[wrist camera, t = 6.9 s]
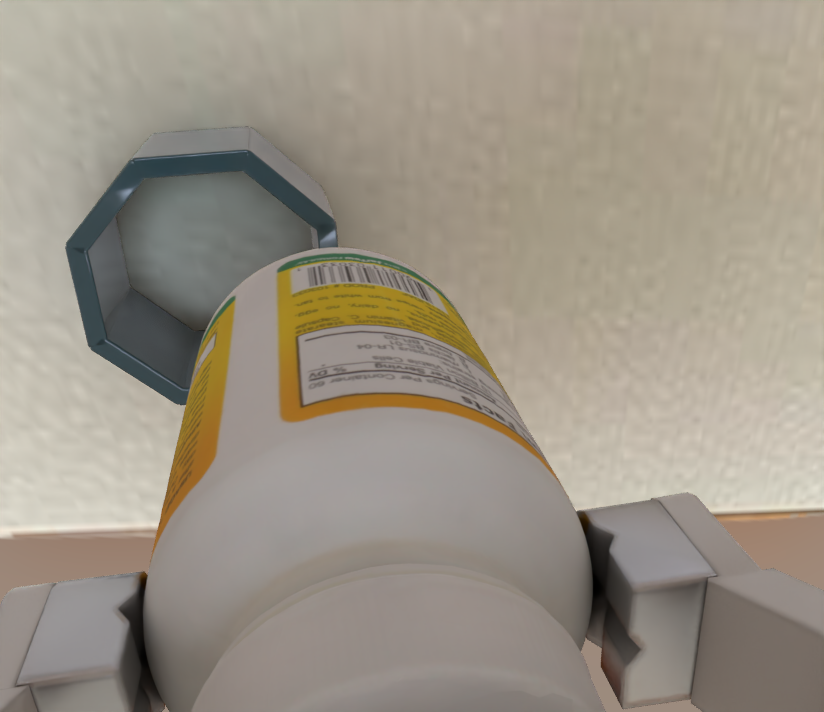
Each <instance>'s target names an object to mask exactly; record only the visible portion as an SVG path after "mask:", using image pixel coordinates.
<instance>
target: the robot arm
mask: <svg viewBox="0 0 824 712" xmlns="http://www.w3.org/2000/svg"><path fill="white" fill-rule="evenodd" d="M576 513H577V516H578V518H579V520H580V523H581V526H582V529H583V532H584V535H585V537H586V541H587V545H588V549H589V553H590V559H591V565H592V577H593V597H592V609H591V616H590V621H589V625H588V630H587V634H586V638H587V639H588V640H589V641H591V642H592V643H594V644H596V645H597V646H599V647H601V648H602V654H601V668H602V670H603V672H604V674H605V676H606V678H607V679H608V681H609V683H610V685H611V687H612V689H613V691H614V693H615V695H616V697H617V699H618V701H619V703H620V705H621V707H622V709H628V708H635V707H642V706H648V705H655V704H662V703H668V702H675V701H682V700H688V699H691V703H692V704H693V705H694V706H696V707H697V708H698V709H700V710H701V711H702V712H824V590H822V589H819V588H817V587H815V586H813V585H810V584H808V583H806V582H803V581H801V580H799V579H796V578H794V577H792V576H790V575H787V574H785V573H783V572H781V571H778V570H776V569H774V568H773V569H766V570H761V568H760V567H759V566H758V565H757V564H756V563H755V562H754V561H753V559H752V558H751V557H750V556H749V555H748V554H747V553H746V552H745V550H744V549H743V548H742V547H741V546H740V545H739V544H738V543H737V542H736V540H735V539H734V538H733V537H732V536H731V535H730V534H729V532H728V531H727V530H726V529H725V528H724V527H723V526H722V525H721V523H720V522H719V521H718V520H717V519H716V518H715V517H714V516H713V514H712V513H711V512H710V511H709V510H708V509H707V508H706V507H705V505H704V504H703V503H702V502H701V501H700V500H699V499H698V498H697V497H696V496H695V495H693V494H691V493H688V492H687V493H681V494H675V495H669V496H663V497H657V498H652V499H651V500H647V501H640V502H633V503H626V504H620V505H613V506H606V507H599V508H592V509H585V510H579V511H577V512H576ZM147 577H148V575H147V574H146V573H145V572H135V573H126V574H118V575H110V576H101V577H94V578H85V579H77V580H69V581H60V582H58V583H47V584H39V585H32V586H24V587H17V588H13V589H12V590H11V591H9V592H8V593H7V594H6V595H5V596H4V598H3V600H2V602H1V604H0V712H162V711H163V710H164V709H165V703H164V702H163V700H162V698H161V696H160V694H159V692H158V690H157V687H156V685H155V683H154V680H153V677H152V674H151V671H150V668H149V664H148V660H147V655H146V649H145V642H144V629H143V604H144V595H145V589H146V583H147Z"/></svg>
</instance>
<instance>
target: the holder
mask: <svg viewBox="0 0 824 712" xmlns="http://www.w3.org/2000/svg"><path fill="white" fill-rule="evenodd" d="M236 171H244V172H245V173H246V174H247V175H249V176H250V177H251V178H252V179H254V180H255V181H256V182H257V183H259V184H260V185H261V186H262V187H263V188H265V189H266V190H267V191H268V192H270V193H271V194H272V195H273V196H275V197H276V198H277V199H278V200H280V201H281V202H282V203H283V204H285V205H286V206H287V207H288V208H290V209H291V210H292V211H293V212H294V213H296V214H297V215H298V216H299V217H301V218H302V219H303V220H304V221H306V222H307V223H308V224H309V225H310V228H311V238H312V248H313V249H320V248H329V247H338V239H337V227H336V221H335V219H334V216H333V213H332V211H331V208H330V205H329V203H328V200H327V197H326V195H325V192H324V189H323V188H322V186H321V185H320V184H319V183H317V182H316V181H315V180H314V179H313V178H311V177H310V176H309V175H308V174H307V173H306V172H304V171H303V170H302V169H301V168H300V167H298V166H297V165H296V164H295V163H294V162H292V161H291V160H290V159H289V158H288V157H286V156H285V155H284V154H283V153H282V152H280V151H279V150H278V149H277V148H276V147H274V146H273V145H272V144H271V143H270V142H268V141H267V140H266V139H265V138H264V137H263V136H261V135H260V134H259V133H258V132H257V131H255V130H254V129H253V128H252V127H248V126H245V127H231V128H218V129H204V130H190V131H176V132H162V133H154V134H153V135H150V137H149V138H148V139H147V140H146V141H145V143H144V144H143V145H142V146H141V147H140V149H139V150H138V151H137V152H136V153H135V155H134V156H133V157H132V158H131V159H130V160H129V162H128V163H127V164H126V166H125V167H124V168H123V170H122V171H121V172H120V173H119V175H118V176H117V177H116V179H115V180H114V181H113V183H112V184H111V185H110V186H109V188H108V189H107V190H106V192H105V193H104V194H103V196H102V197H101V198H100V199H99V201H98V202H97V203H96V205H95V206H94V207H93V209H92V210H91V211H90V212H89V214H88V215H87V216H86V218H85V219H84V220H83V222H82V223H81V224H80V225H79V227H78V228H77V229H76V231H75V232H74V233H73V235H72V236H71V237H70V238H69V240H68V241H67V242H66V247H65V249H66V254H67V258H68V262H69V266H70V271H71V275H72V279H73V283H74V288H75V292H76V296H77V300H78V304H79V309H80V313H81V317H82V321H83V326H84V330H85V334H86V338H87V343H88V346H89V347H91V348H90V349H91V350H92V351H94V352H95V353H97V354H99V355H100V356H102V357H103V358H105V359H106V360H108V361H110V362H111V363H113V364H114V365H116V366H117V367H119V368H121V369H122V370H124V371H125V372H127V373H128V374H130V375H132V376H133V377H135V378H136V379H138V380H139V381H141V382H143V383H144V384H146V385H147V386H149V387H150V388H152V389H154V390H155V391H157V392H158V393H160V394H161V395H163V396H165V397H166V398H168V399H169V400H171V401H172V402H174V403H176V404H180V405H186V403H187V398H188V394H189V389H190V385H191V381H192V375H193V371H194V366H195V362H196V359H197V355H198V351H199V348H200V345H201V341H202V338H203V335H204V333H205V331H206V330H202V331H193V330H192V329H190V328H189V327H187V326H186V325H184V324H183V323H182V322H180V321H179V320H177V319H176V318H174V317H173V316H171V315H170V314H168V313H167V312H166V311H164V310H163V309H161V308H160V307H158V306H157V305H155V304H154V303H152V302H151V301H150V300H148V299H147V298H145V297H144V296H142V295H141V294H139V293H138V292H136V291H135V290H134V289H132V288H131V287H130V282H129V277H128V272H127V267H126V262H125V257H124V253H123V248H122V243H121V238H120V233H119V228H118V223H117V218H116V215H117V214H118V212H119V211H120V210H121V209H122V207H123V206H124V205H125V203H126V202H127V201H128V200H129V198H130V197H131V196H132V194H133V193H134V192H135V191H136V189H137V188H138V187H139V185H140V184H141V183H142V182H143V180H144V179H148V178H161V177H173V176H186V175H198V174H211V173H223V172H236Z"/></svg>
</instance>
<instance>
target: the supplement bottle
mask: <svg viewBox="0 0 824 712" xmlns="http://www.w3.org/2000/svg"><path fill="white" fill-rule="evenodd" d="M592 597H593V577H592V565H591V559H590V553H589V549H588V545H587V541H586V537H585V535H584V532H583V529H582V526H581V523H580V520H579V518H578V516H577V513H576V511H575V509H574V507H573V505H572V503H571V501H570V499H569V497H568V495H567V494H566V492H565V490H564V488H563V487H562V485H561V483H560V481H559V479H558V478H557V476H556V475H555V473H554V472H553V470H552V468H551V467H550V465H549V463H548V462H547V460H546V458H545V457H544V455H543V453H542V452H541V450H540V448H539V447H538V445H537V443H536V442H535V440H534V438H533V437H532V435H531V434H530V432H529V430H528V429H527V427H526V425H525V424H524V422H523V421H522V419H521V417H520V416H519V414H518V412H517V410H516V408H515V407H514V405H513V403H512V402H511V400H510V398H509V396H508V395H507V393H506V391H505V390H504V388H503V386H502V385H501V383H500V381H499V380H498V378H497V376H496V375H495V373H494V371H493V369H492V368H491V366H490V364H489V363H488V361H487V359H486V357H485V356H484V354H483V353H482V351H481V350H480V348H479V346H478V344H477V343H476V341H475V340H474V338H473V337H472V335H471V333H470V331H469V329H468V328H467V326H466V324H465V323H464V321H463V319H462V318H461V316H460V315H459V313H458V311H457V310H456V308H455V307H454V305H453V304H452V302H451V301H450V300H449V299H448V297H447V296H446V295H445V294H444V293H443V292H442V291H441V290H440V289H439V288H438V287H437V286H436V285H435V284H434V283H433V282H432V281H431V280H430V279H428V278H427V277H426V276H424V275H423V274H421V273H420V272H419V271H417V270H416V269H414V268H412V267H411V266H409V265H407V264H405V263H403V262H401V261H399V260H396V259H394V258H391V257H389V256H386V255H383V254H380V253H376V252H372V251H368V250H361V249H355V248H341V247H329V248H320V249H312V250H308V251H304V252H300V253H296V254H293V255H290V256H287V257H285V258H282V259H280V260H277V261H275V262H273V263H271V264H269V265H267V266H265V267H263V268H262V269H260V270H258V271H256V272H255V273H254V274H252V275H251V276H249V277H248V278H247V279H245V280H244V281H243V282H242V283H241V284H240V285H239V286H237V287H236V288H235V289H234V290H233V291H232V292H231V293H230V294H229V295H228V296H227V297H226V299H225V300H224V301H223V302H222V304H221V305H220V306H219V308H218V309H217V311H216V312H215V313H214V315H213V317H212V319H211V321H210V323H209V325H208V327H207V329H206V331H205V333H204V335H203V338H202V341H201V345H200V348H199V351H198V355H197V359H196V362H195V366H194V371H193V375H192V381H191V385H190V389H189V394H188V398H187V403H186V408H185V412H184V417H183V421H182V426H181V430H180V434H179V438H178V442H177V446H176V451H175V455H174V460H173V465H172V468H171V473H170V478H169V482H168V487H167V492H166V496H165V500H164V504H163V508H162V513H161V519H160V523H159V526H158V530H157V535H156V539H155V543H154V548H153V552H152V556H151V560H150V566H149V572H148V577H147V583H146V589H145V595H144V604H143V629H144V642H145V649H146V655H147V660H148V664H149V668H150V671H151V674H152V677H153V680H154V683H155V685H156V687H157V690H158V692H159V694H160V696H161V698H162V700H163V702H164V703H165V705H166V707H167V708H168V710H169V712H606V711H605V709H604V706H603V704H602V702H601V700H600V697H599V695H598V693H597V691H596V689H595V686H594V684H593V682H592V680H591V676H590V673H589V670H588V667H587V664H586V662H585V659H584V657H583V655H582V653H581V650H582V647H583V644H584V641H585V637H586V634H587V630H588V625H589V621H590V616H591V609H592Z"/></svg>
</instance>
